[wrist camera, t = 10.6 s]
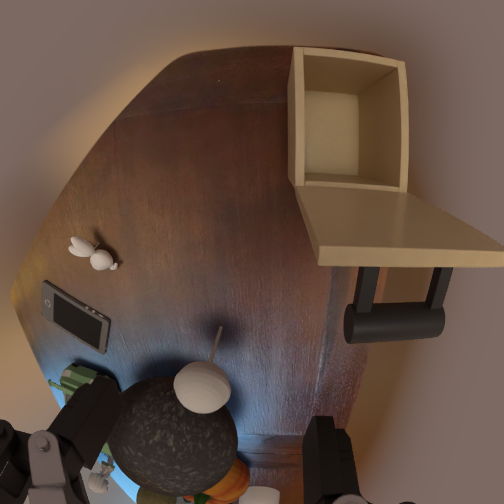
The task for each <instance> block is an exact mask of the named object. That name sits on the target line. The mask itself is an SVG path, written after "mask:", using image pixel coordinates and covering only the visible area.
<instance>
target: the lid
mask: <svg viewBox="0 0 504 504" xmlns="http://www.w3.org/2000/svg"><path fill="white" fill-rule="evenodd" d="M295 196H296V199H297V202H298V205H299V208H300V211H301V214H302V217H303V220H304V223H305V226H306V229H307V232H308V235H309V238H310V241H311V244H312V248H313V251H314V254H315V257H316V261H317V264H318V266H359V271H358V277H357V284H356V289H355V295H354V301H353V304H348V305H347V307H346V310H345V314H344V336H345V340H346V342H347V343H349V344H354V343H374V342H390V341H403V340H414V339H424V338H433V337H438V336H439V335H440V334H441V333H442V331H443V329H444V325H445V312H444V308H443V306H442V305H443V302H444V299H445V295H446V292H447V289H448V285H449V282H450V278H451V275H452V271H453V267H504V246H503V245H501V244H500V243H498V242H497V241H495V240H493V239H491V238H490V237H489V236H487V235H485V234H484V233H482V232H480V231H479V230H477V229H475V228H473V227H472V226H470V225H468V224H467V223H465V222H463V221H461V220H460V219H458V218H456V217H454V216H452V215H450V214H449V213H447V212H445V211H443V210H441V209H439V208H437V207H436V206H434V205H431V204H430V203H428V202H426V201H424V200H422V199H420V198H418V197H415V196H414V195H411V194H409V193H401V192H390V191H378V190H365V189H351V188H333V187H311V186H296V187H295ZM380 267H434V271H433V275H432V279H431V283H430V287H429V291H428V294H427V298H426V301H425V302H404V303H373V300H374V295H375V290H376V285H377V280H378V275H379V269H380Z"/></svg>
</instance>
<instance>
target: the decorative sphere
mask: <svg viewBox="0 0 504 504" xmlns="http://www.w3.org/2000/svg"><path fill="white" fill-rule="evenodd" d="M174 380H175V377H170V376H161V377H153V378H149V379H145V380H142V381H140V382H137V383H135V384H134V385H132V386H130V387H129V388H128V389H126V390H125V391H124V392H123V393H122V394H121V395H120V397H121V401H122V411H121V414H120V417H119V418H118V420H117V422H116V424H115V426H114V428H113V430H112V431H111V433H110V435H109V437H108V439H107V442H108V446H109V449H110V452H111V454H112V457H113V459H114V460H115V462H116V464H117V465H118V467H119V468H120V469H121V470H122V472H123V473H124V474H125V475H126V476H127V477H128V478H129V479H131V480H132V481H133V482H135V483H136V484H137V485H139V486H141V487H143V488H144V489H146V490H149V491H151V492H154V493H157V494H160V495H165V496H172V497H183V496H191V495H195V494H199V493H202V492H204V491H206V490H208V489H210V488H212V487H214V486H215V485H216V484H218V483H219V482H220V481H221V480H222V479H223V478H224V477H225V476H226V475H227V473H228V472H229V470H230V469H231V467H232V465H233V463H234V461H235V458H236V454H237V448H238V436H237V430H236V426H235V423H234V421H233V418H232V416H231V414H230V413H229V411H228V410H227V408H226V407H225V405H223V406H222V407H221V408H219V409H218V410H216V411H214V412H211V413H205V414H204V413H196V412H193V411H190V410H189V409H187V408H186V407H184V406H183V405H182V404H181V402H180V401H179V399H178V398H177V395H176V392H175V389H174Z"/></svg>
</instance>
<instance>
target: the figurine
mask: <svg viewBox="0 0 504 504" xmlns="http://www.w3.org/2000/svg"><path fill="white" fill-rule="evenodd" d="M114 468H115V466H113V457H112V456H109V457H108V462H107V463H106V462H104V461H102V472H101V471H100V473H92V474H90V475H89V479H88V485H89V487H90V488H91V490H93V491H94V492H97V493H105V492H107V490H108V487H107V485H108V481H107V480H106V479H105V478H107V477H108V476H109V475H110V473H111V472H112V471H114V470H115V469H114Z"/></svg>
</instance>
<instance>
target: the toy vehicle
mask: <svg viewBox="0 0 504 504" xmlns="http://www.w3.org/2000/svg"><path fill="white" fill-rule="evenodd" d="M176 504H194V502H192V501H189V500H187V499H185V498H183V497H177V503H176Z"/></svg>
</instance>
